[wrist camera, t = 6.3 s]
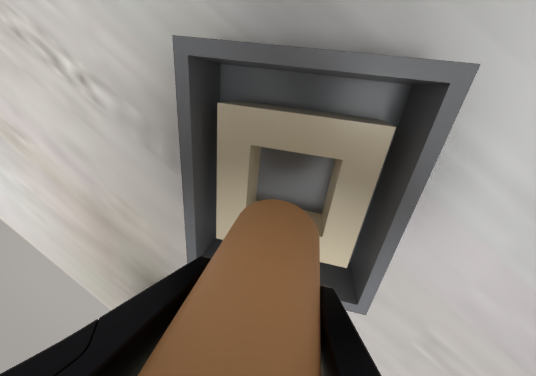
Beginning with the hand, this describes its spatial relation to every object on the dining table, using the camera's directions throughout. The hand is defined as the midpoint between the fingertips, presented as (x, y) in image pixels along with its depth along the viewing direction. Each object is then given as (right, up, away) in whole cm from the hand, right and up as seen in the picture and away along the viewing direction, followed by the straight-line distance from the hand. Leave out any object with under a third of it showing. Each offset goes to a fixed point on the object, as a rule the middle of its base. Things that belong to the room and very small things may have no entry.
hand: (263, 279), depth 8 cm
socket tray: (+2, +5, +10) cm, 11 cm away
